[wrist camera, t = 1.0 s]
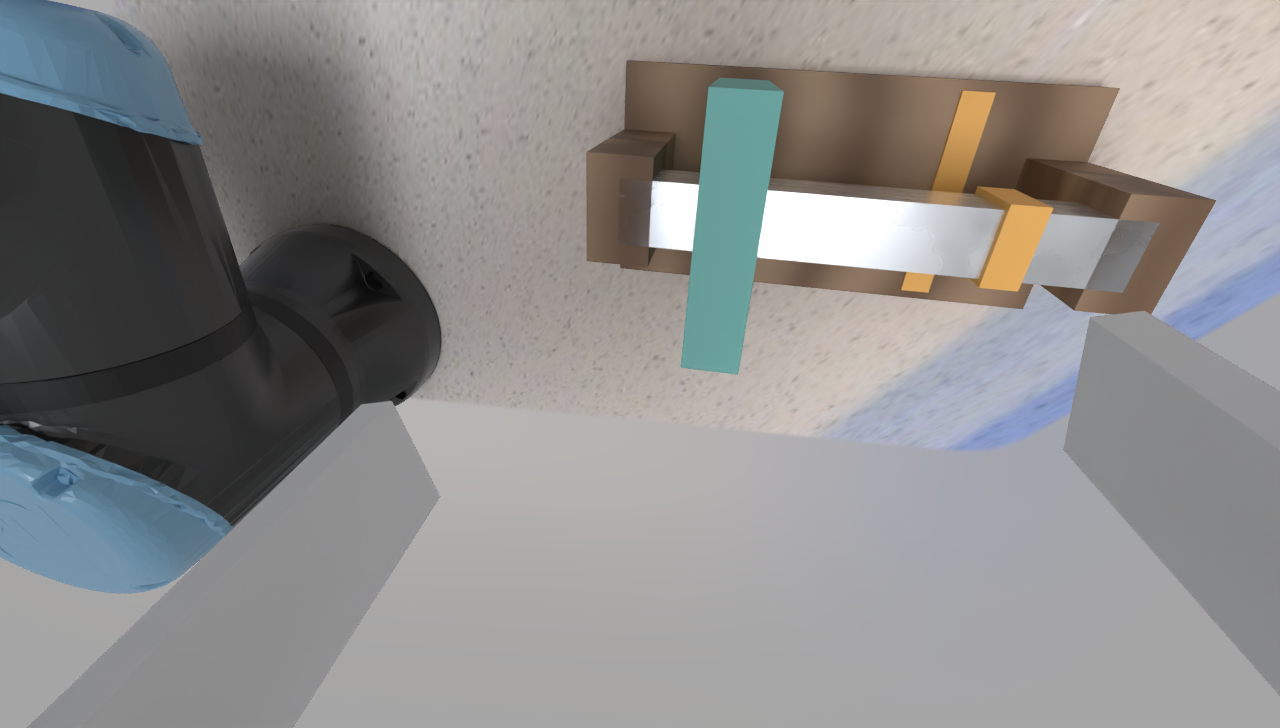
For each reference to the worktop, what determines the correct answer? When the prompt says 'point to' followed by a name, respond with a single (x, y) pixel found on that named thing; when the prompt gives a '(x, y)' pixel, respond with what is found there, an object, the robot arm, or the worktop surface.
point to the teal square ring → (729, 219)
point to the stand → (891, 170)
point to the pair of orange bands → (1021, 210)
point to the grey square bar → (898, 230)
